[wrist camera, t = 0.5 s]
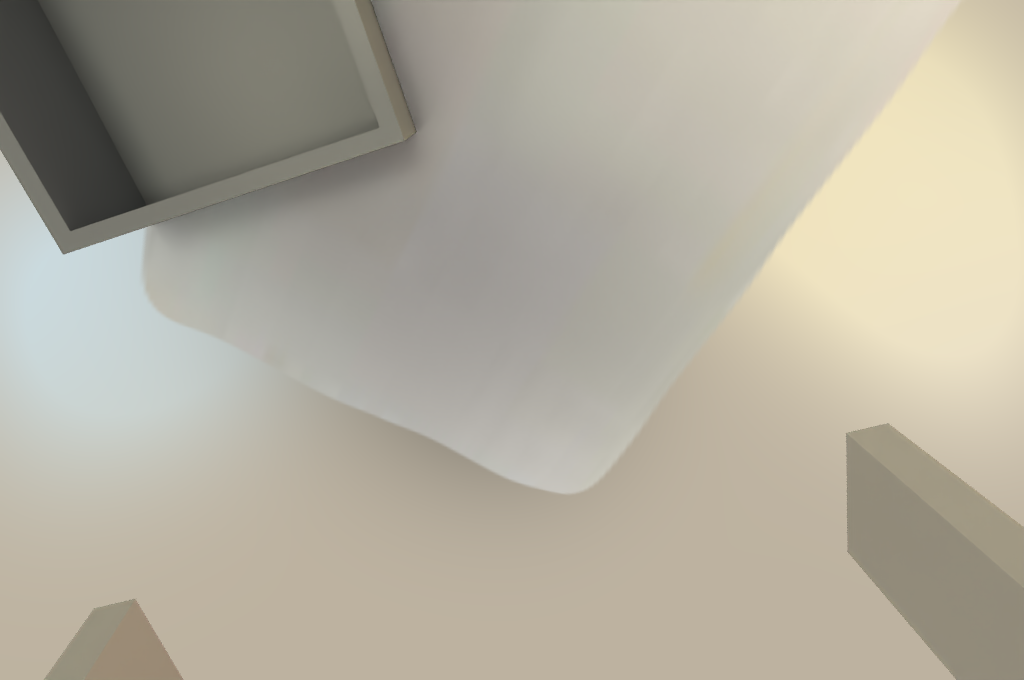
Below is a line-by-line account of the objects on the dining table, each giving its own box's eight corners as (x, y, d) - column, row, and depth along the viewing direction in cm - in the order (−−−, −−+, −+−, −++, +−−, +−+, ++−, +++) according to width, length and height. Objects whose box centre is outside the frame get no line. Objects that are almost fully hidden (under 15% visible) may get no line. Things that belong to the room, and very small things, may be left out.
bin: (-24, -102, 29) (-193, -173, 21) (295, -216, 28) (236, -330, 21) (149, 221, 34) (63, 254, 27) (416, 132, 34) (404, 141, 26)
